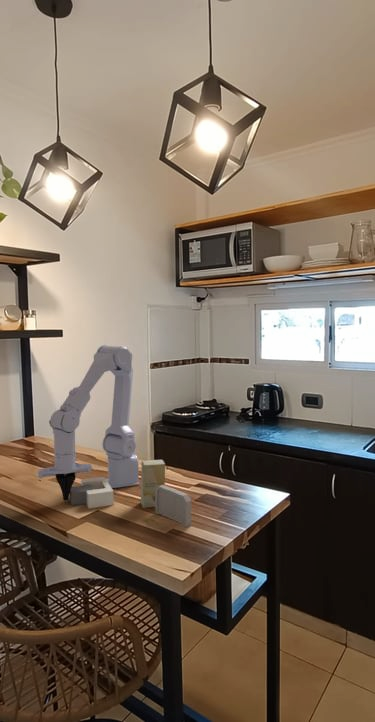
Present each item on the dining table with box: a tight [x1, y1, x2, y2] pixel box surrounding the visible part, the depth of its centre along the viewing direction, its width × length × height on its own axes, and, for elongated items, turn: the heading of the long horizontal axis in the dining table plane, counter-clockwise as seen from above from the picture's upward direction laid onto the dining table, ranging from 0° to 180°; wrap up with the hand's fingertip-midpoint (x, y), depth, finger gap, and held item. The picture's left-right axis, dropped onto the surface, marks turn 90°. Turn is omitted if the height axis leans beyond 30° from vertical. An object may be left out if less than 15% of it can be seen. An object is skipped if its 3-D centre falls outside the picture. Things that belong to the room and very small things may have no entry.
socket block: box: [80, 476, 115, 509], centre depth 131 cm, size 7×13×4 cm, turn 22°
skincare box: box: [140, 459, 166, 508], centre depth 126 cm, size 6×4×12 cm
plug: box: [69, 485, 96, 506], centre depth 129 cm, size 7×5×4 cm
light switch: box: [154, 485, 192, 528], centre depth 117 cm, size 2×12×8 cm, turn 45°
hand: (65, 499), depth 127 cm, fingers closed
